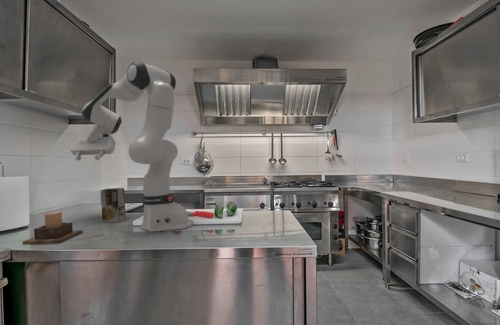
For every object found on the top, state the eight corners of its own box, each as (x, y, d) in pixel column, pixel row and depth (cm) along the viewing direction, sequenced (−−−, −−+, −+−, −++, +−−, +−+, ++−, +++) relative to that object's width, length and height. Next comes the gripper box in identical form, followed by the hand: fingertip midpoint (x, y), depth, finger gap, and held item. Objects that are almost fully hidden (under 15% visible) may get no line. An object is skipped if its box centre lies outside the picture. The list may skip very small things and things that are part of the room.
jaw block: (62, 233, 113) (61, 211, 113) (55, 236, 109) (54, 214, 109) (53, 234, 113) (51, 212, 113) (45, 237, 109) (44, 214, 109)
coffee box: (126, 219, 142) (124, 187, 142) (119, 222, 136) (117, 189, 135) (109, 219, 143) (107, 188, 142) (101, 222, 137) (99, 189, 136)
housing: (82, 232, 118) (81, 220, 118) (59, 243, 104) (58, 229, 104) (50, 234, 119) (49, 222, 118) (22, 244, 105) (21, 231, 104)
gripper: (74, 136, 143) (62, 155, 133) (114, 134, 143) (105, 153, 133) (80, 145, 148) (69, 164, 138) (118, 143, 147) (110, 162, 138)
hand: (87, 159), depth 136 cm, fingers open, 8 cm apart
